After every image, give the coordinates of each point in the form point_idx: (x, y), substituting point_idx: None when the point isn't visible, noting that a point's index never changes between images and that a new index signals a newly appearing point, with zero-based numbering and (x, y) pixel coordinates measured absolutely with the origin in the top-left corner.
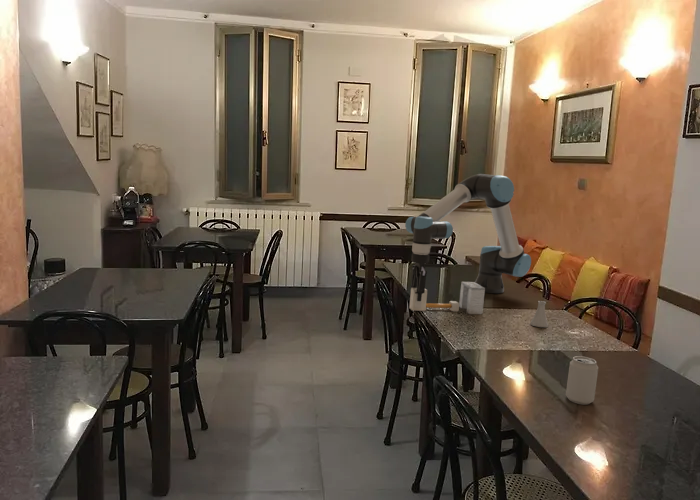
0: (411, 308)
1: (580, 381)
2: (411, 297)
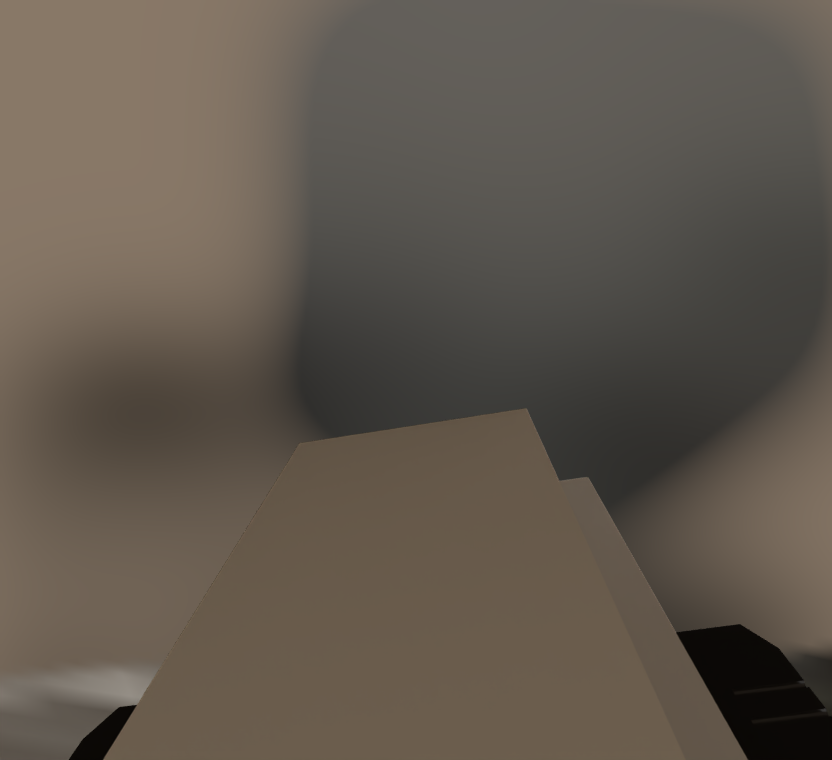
0: (348, 445)
1: None
2: (418, 563)
